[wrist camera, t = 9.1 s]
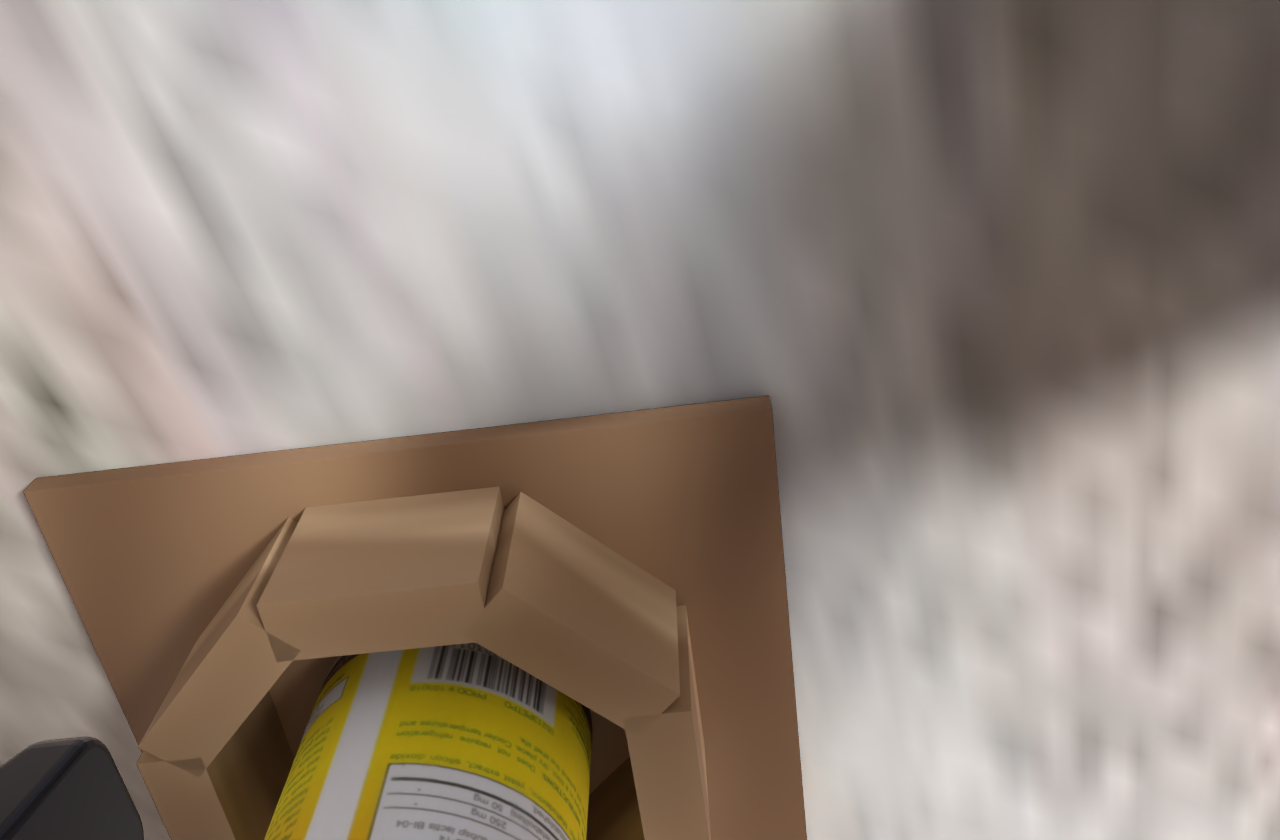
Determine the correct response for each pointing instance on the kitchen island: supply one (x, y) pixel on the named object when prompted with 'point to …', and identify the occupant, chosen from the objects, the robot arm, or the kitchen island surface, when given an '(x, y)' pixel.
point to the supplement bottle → (438, 753)
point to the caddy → (455, 604)
